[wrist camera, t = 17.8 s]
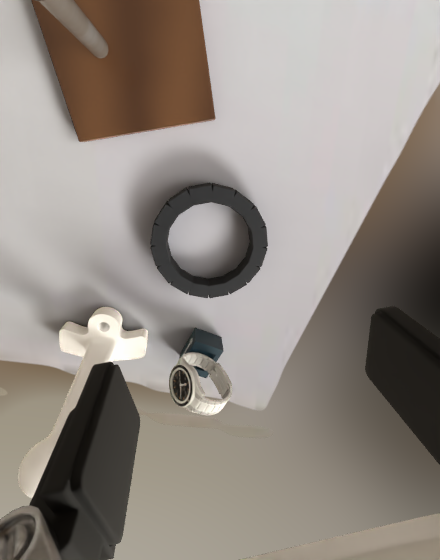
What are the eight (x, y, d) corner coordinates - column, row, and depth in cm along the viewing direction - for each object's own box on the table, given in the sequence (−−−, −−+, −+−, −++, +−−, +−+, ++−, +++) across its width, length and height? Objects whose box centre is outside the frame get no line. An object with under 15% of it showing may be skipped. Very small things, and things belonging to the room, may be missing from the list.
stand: (83, 142, 29) (-2, 135, 16) (20, -46, 23) (-196, -293, 10) (214, 120, 29) (232, 96, 16) (188, -72, 23) (183, -345, 10)
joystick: (67, 346, 39) (-38, 511, 21) (64, 300, 36) (-61, 449, 18) (146, 352, 41) (111, 510, 23) (150, 309, 38) (113, 453, 20)
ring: (168, 297, 37) (166, 306, 35) (140, 194, 31) (136, 197, 29) (266, 280, 38) (271, 287, 36) (258, 174, 32) (262, 176, 30)
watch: (182, 322, 39) (179, 380, 30) (231, 340, 42) (243, 400, 32) (167, 351, 41) (159, 414, 31) (214, 367, 44) (221, 430, 34)
